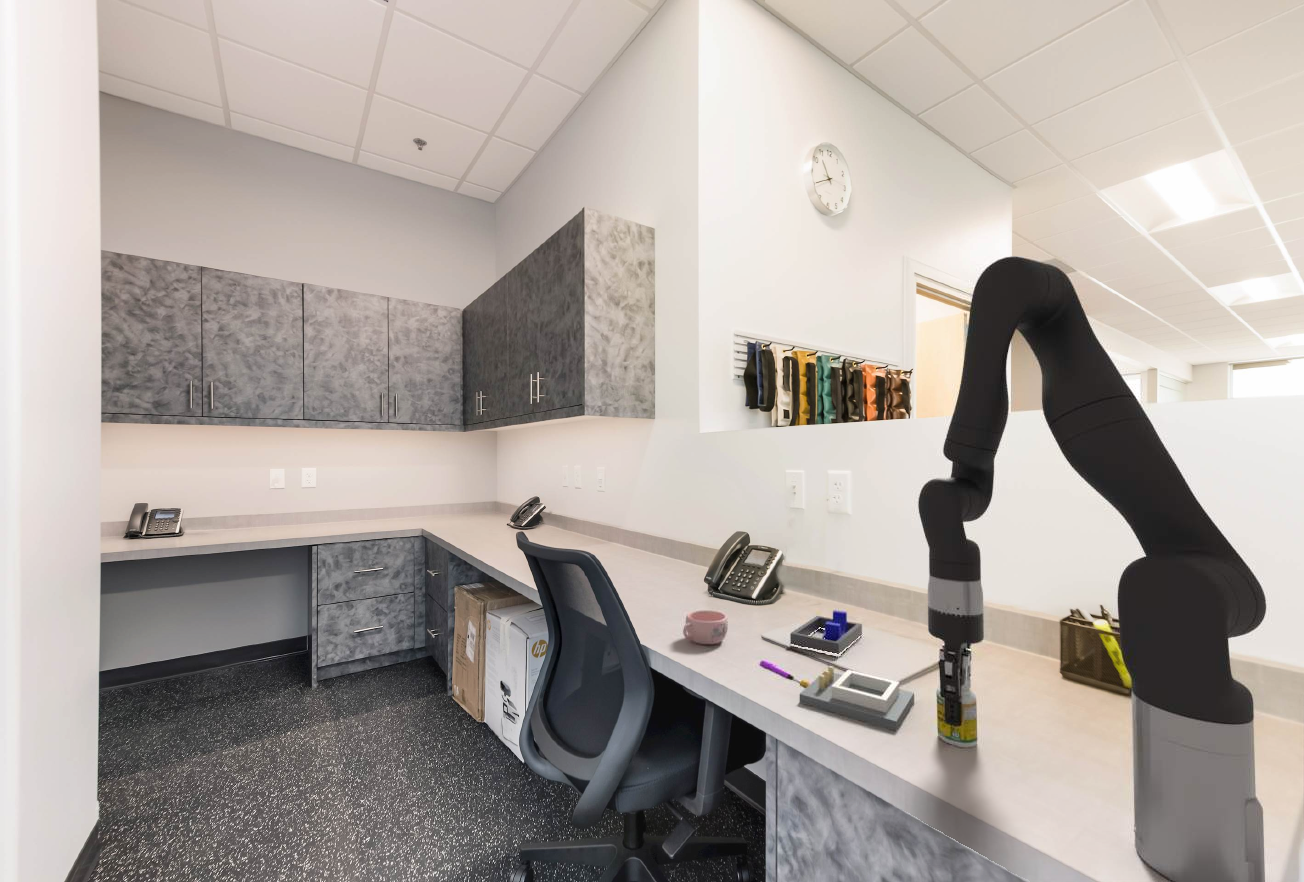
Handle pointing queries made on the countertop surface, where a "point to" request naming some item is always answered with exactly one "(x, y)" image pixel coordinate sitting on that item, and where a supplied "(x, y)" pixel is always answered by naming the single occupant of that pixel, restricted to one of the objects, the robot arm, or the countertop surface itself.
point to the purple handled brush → (782, 672)
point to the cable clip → (836, 626)
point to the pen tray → (838, 646)
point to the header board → (859, 697)
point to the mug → (706, 626)
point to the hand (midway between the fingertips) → (956, 716)
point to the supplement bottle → (968, 728)
